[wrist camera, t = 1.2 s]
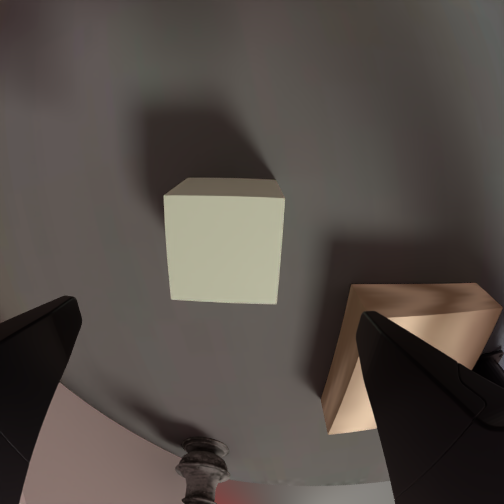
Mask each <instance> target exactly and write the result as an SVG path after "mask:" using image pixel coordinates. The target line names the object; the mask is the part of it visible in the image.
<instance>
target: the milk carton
mask: <svg viewBox="0 0 504 504" xmlns="http://www.w3.org/2000/svg"><path fill="white" fill-rule="evenodd" d="M181 459H182V458H180V457H178V456H176V455H174V454H172V453H170V452H168V451H166V450H164V449H162V448H160V447H158V446H156V445H154V444H152V443H151V442H149V441H147V440H145V439H143V438H141V437H140V436H138V435H136V434H134V433H133V432H131V431H129V430H128V429H126V428H124V427H123V426H121V425H119V424H118V423H116V422H114V421H113V420H111V419H110V418H108V417H107V416H105V415H104V414H102V413H101V412H99V411H98V410H96V409H95V408H93V407H92V406H90V405H89V404H88V403H86V402H85V401H83V400H82V399H81V398H79V397H78V396H77V395H75V394H74V393H73V392H71V391H70V390H69V389H67V388H66V387H65V386H64V385H62V384H61V383H60V382H59V384H58V386H57V389H56V391H55V393H54V396H53V398H52V401H51V403H50V406H49V408H48V411H47V414H46V416H45V419H44V422H43V424H42V427H41V430H40V433H39V436H38V438H37V441H36V444H35V448H34V451H33V454H32V457H31V460H30V463H29V468H28V471H27V475H26V478H25V482H24V486H23V490H22V494H21V498H20V503H19V504H184V503H183V502H182V499H183V498H185V493H186V486H187V485H186V479H185V478H184V477H182V476H180V475H179V474H178V473H177V472H176V471H175V467H176V466H177V465H178V464H179V462H180V460H181Z"/></svg>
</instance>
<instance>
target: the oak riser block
mask: <svg viewBox="0 0 504 504" xmlns="http://www.w3.org/2000/svg"><path fill="white" fill-rule="evenodd" d="M502 308H503V307H502V306H501V305H500V304H499V303H498V302H496V301H495V300H494V299H493V298H492V297H491V296H490V295H489V294H488V293H487V292H486V291H484V290H483V289H482V288H481V287H480V286H479V285H478V284H477V283H449V284H351V287H350V292H349V296H348V301H347V305H346V310H345V314H344V318H343V322H342V326H341V330H340V334H339V338H338V342H337V346H336V350H335V353H334V357H333V361H332V364H331V368H330V371H329V374H328V378H327V381H326V384H325V388H324V391H323V394H322V397H321V403H322V408H323V412H324V417H325V422H326V427H327V432H328V435H329V434H339V433H348V432H355V431H362V430H369V429H375V428H377V426H376V422H375V418H374V415H373V411H372V408H371V404H370V401H369V398H368V394H367V391H366V388H365V384H364V380H363V375H362V370H361V364H360V359H359V354H358V349H357V344H356V331H357V328H358V324H359V320H360V317H361V314H362V313H363V312H364V311H376V312H378V313H380V314H381V315H383V316H385V317H386V318H388V319H390V320H391V321H393V322H394V323H396V324H398V325H399V326H401V327H403V328H404V329H406V330H407V331H409V332H411V333H412V334H414V335H416V336H417V337H419V338H420V339H422V340H424V341H425V342H427V343H428V344H430V345H432V346H433V347H435V348H436V349H438V350H440V351H441V352H443V353H444V354H446V355H448V356H449V357H451V358H452V359H454V360H456V361H457V363H460V364H462V365H464V366H465V367H467V368H468V369H470V370H472V369H473V367H474V365H475V364H476V362H477V360H478V358H479V356H480V354H481V353H482V351H483V349H484V347H485V345H486V343H487V341H488V339H489V337H490V335H491V333H492V331H493V329H494V326H495V324H496V322H497V320H498V318H499V315H500V313H501V311H502Z"/></svg>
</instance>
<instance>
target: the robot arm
mask: <svg viewBox="0 0 504 504" xmlns="http://www.w3.org/2000/svg"><path fill="white" fill-rule="evenodd" d="M81 325H82V317H81V313H80V310H79V306H78V303H77V300H76V298H75V297H72V296H62V297H60V298H57V299H55V300H53V301H50V302H48V303H46V304H43V305H41V306H39V307H36V308H34V309H32V310H29V311H27V312H25V313H22V314H20V315H18V316H16V317H13V318H11V319H9V320H7V321H4V322H2V323H0V504H19V503H20V498H21V494H22V490H23V486H24V482H25V478H26V475H27V471H28V468H29V463H30V460H31V457H32V454H33V451H34V448H35V444H36V441H37V438H38V436H39V433H40V430H41V427H42V424H43V422H44V419H45V416H46V414H47V411H48V408H49V406H50V403H51V401H52V398H53V396H54V393H55V391H56V389H57V386H58V384H59V382H60V379H61V377H62V375H63V372H64V370H65V368H66V366H67V363H68V361H69V358H70V356H71V353H72V350H73V347H74V344H75V341H76V339H77V336H78V333H79V330H80V328H81ZM356 344H357V349H358V354H359V359H360V364H361V370H362V375H363V380H364V384H365V388H366V391H367V394H368V398H369V401H370V404H371V408H372V411H373V415H374V418H375V422H376V426H377V429H378V433H379V437H380V441H381V444H382V448H383V452H384V456H385V460H386V464H387V468H388V473H389V477H390V481H391V486H392V490H393V495H394V499H395V504H504V370H503V369H502V368H501V366H500V365H499V364H498V363H499V361H500V359H501V358H502V356H503V354H504V352H503V351H502V350H500V351H496V352H492V353H488V354H484V355H480V356H479V358H478V360H477V362H476V364H475V365H474V367H473V369H472V370H470V369H468V368H467V367H465V366H464V365H462V364H460V363H457V361H456V360H454V359H452V358H451V357H449V356H448V355H446V354H444V353H443V352H441V351H440V350H438V349H436V348H435V347H433V346H432V345H430V344H428V343H427V342H425V341H424V340H422V339H420V338H419V337H417V336H416V335H414V334H412V333H411V332H409V331H407V330H406V329H404V328H403V327H401V326H399V325H398V324H396V323H394V322H393V321H391V320H390V319H388V318H386V317H385V316H383V315H381V314H380V313H378V312H376V311H364V312H363V313H362V314H361V317H360V320H359V324H358V328H357V331H356Z"/></svg>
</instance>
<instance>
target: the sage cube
mask: <svg viewBox="0 0 504 504" xmlns="http://www.w3.org/2000/svg"><path fill="white" fill-rule="evenodd" d="M284 207H285V197H284V195H283V193H282V191H281V189H280V187H279V185H278V183H277V181H276V180H271V179H246V178H187V179H185V180H184V181H183V182H181V183H180V184H178V185H177V186H176V187H174V188H173V189H172V190H170V191H169V192H168V193H166V194H165V195H164V216H165V233H166V248H167V260H168V271H169V282H170V291H171V300H187V301H204V302H225V303H252V304H277V294H278V283H279V271H280V259H281V247H282V234H283V221H284Z"/></svg>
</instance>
